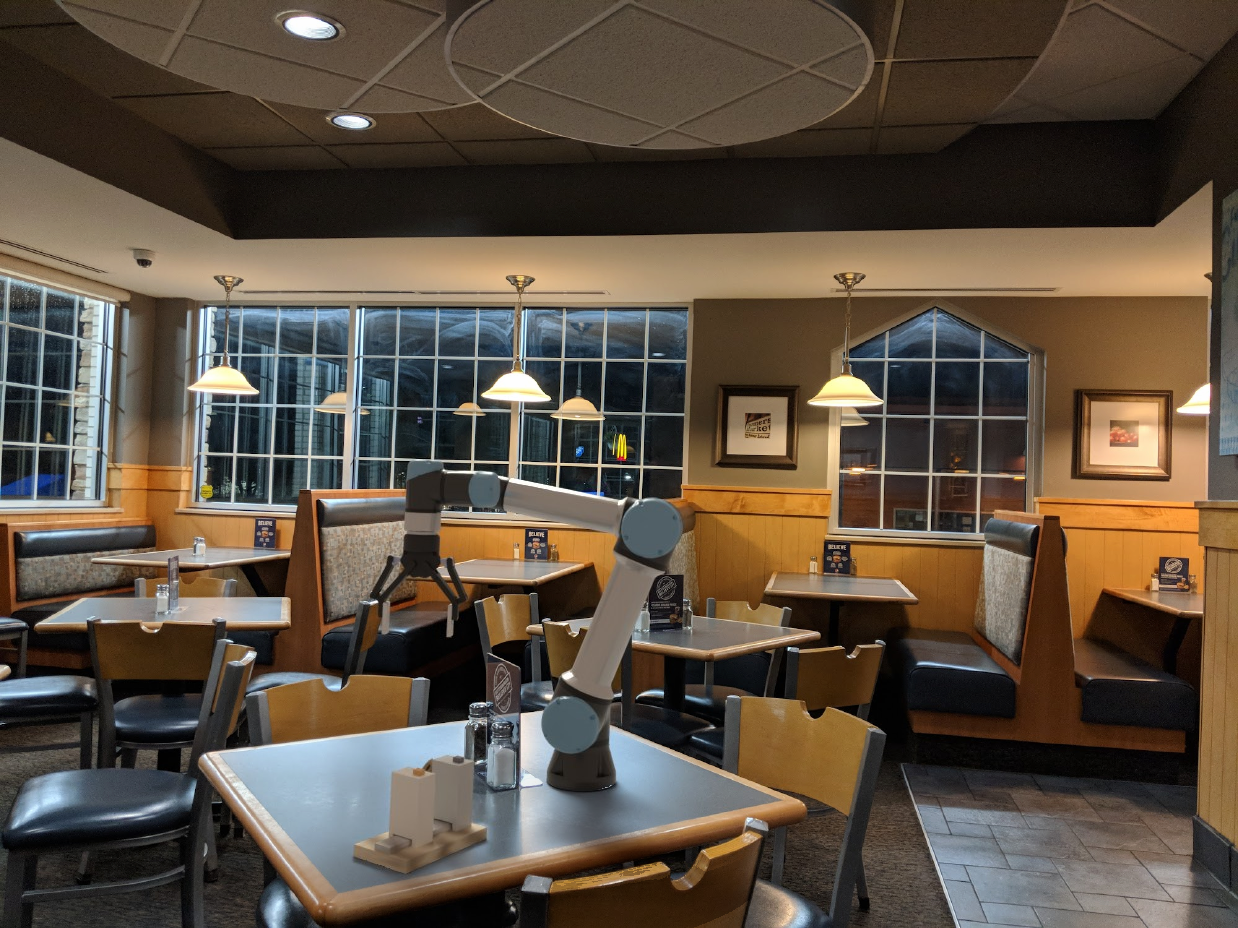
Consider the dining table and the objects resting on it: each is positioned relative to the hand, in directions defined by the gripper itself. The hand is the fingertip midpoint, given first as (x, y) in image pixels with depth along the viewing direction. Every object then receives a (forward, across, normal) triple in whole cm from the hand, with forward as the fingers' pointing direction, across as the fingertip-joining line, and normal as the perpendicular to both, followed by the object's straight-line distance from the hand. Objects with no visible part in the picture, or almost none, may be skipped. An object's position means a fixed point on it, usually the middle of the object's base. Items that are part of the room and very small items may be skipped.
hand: (417, 634), depth 195 cm
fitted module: (+30, -14, +26) cm, 42 cm away
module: (+30, -8, +35) cm, 46 cm away
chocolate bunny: (+32, -7, +12) cm, 35 cm away
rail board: (+32, -10, +32) cm, 46 cm away
